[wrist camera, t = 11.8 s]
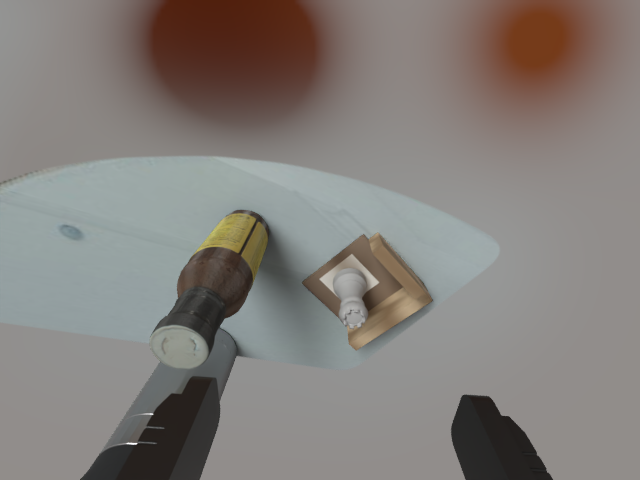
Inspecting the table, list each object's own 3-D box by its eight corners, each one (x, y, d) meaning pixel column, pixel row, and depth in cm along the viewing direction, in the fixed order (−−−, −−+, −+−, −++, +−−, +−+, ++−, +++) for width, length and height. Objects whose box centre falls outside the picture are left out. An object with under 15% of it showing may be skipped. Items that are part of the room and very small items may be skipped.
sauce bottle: (211, 230, 38) (105, 344, 20) (243, 197, 37) (158, 288, 18) (250, 263, 40) (185, 394, 22) (282, 233, 38) (240, 348, 20)
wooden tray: (353, 330, 44) (356, 350, 40) (302, 281, 41) (299, 299, 37) (423, 283, 41) (432, 300, 37) (372, 226, 38) (377, 239, 34)
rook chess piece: (372, 272, 40) (381, 310, 32) (358, 299, 41) (364, 341, 34) (340, 261, 39) (342, 297, 32) (327, 289, 41) (327, 329, 34)
